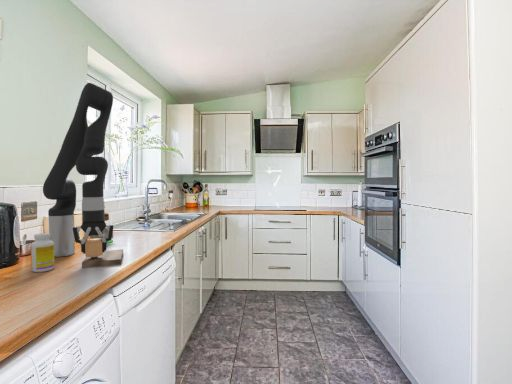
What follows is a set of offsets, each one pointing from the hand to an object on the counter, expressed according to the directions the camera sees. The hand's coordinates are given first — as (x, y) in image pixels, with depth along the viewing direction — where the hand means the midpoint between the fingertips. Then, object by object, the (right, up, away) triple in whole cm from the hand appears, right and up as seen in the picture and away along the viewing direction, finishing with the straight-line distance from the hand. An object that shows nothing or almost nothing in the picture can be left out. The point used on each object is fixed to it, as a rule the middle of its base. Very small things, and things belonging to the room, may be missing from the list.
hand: (94, 252), depth 113 cm
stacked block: (-19, -3, +40) cm, 45 cm away
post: (0, -2, 0) cm, 2 cm away
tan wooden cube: (0, -1, 0) cm, 1 cm away
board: (+1, -4, +5) cm, 7 cm away
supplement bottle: (-14, -5, -8) cm, 17 cm away
